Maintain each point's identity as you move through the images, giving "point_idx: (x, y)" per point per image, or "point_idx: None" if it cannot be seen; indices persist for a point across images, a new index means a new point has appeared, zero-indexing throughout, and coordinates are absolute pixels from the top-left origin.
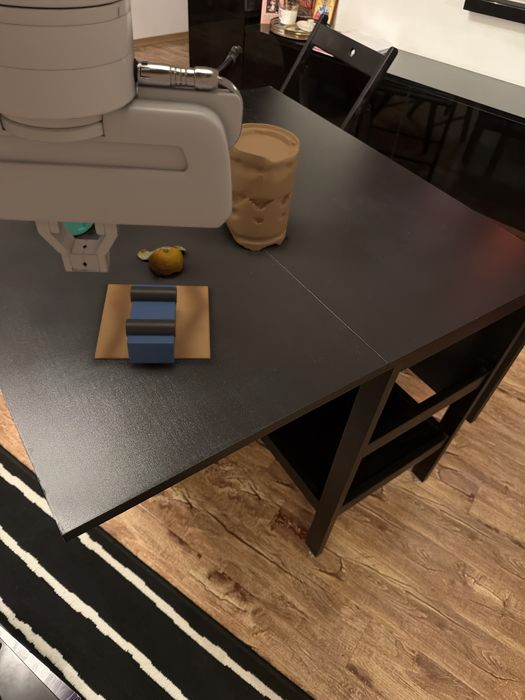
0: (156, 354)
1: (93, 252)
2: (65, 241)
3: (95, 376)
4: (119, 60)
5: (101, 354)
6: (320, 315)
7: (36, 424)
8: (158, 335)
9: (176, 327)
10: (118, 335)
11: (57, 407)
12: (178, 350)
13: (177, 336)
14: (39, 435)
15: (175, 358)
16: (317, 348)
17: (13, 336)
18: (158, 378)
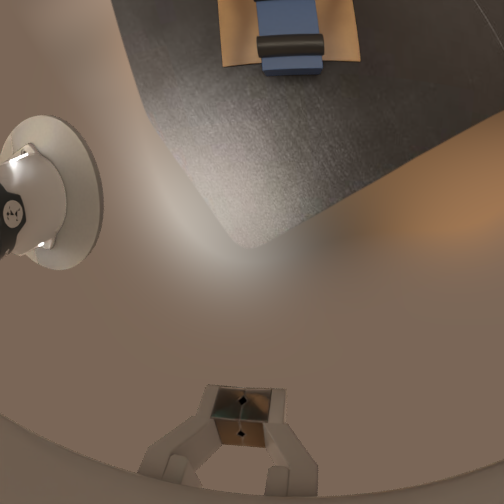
0: (299, 72)
1: (261, 444)
2: (206, 449)
3: (229, 90)
4: None
5: (229, 61)
6: (475, 18)
7: (187, 156)
8: (301, 55)
9: None
10: (243, 31)
11: (201, 134)
12: None
13: None
14: (194, 168)
15: None
16: (473, 63)
17: (134, 54)
18: (301, 89)
